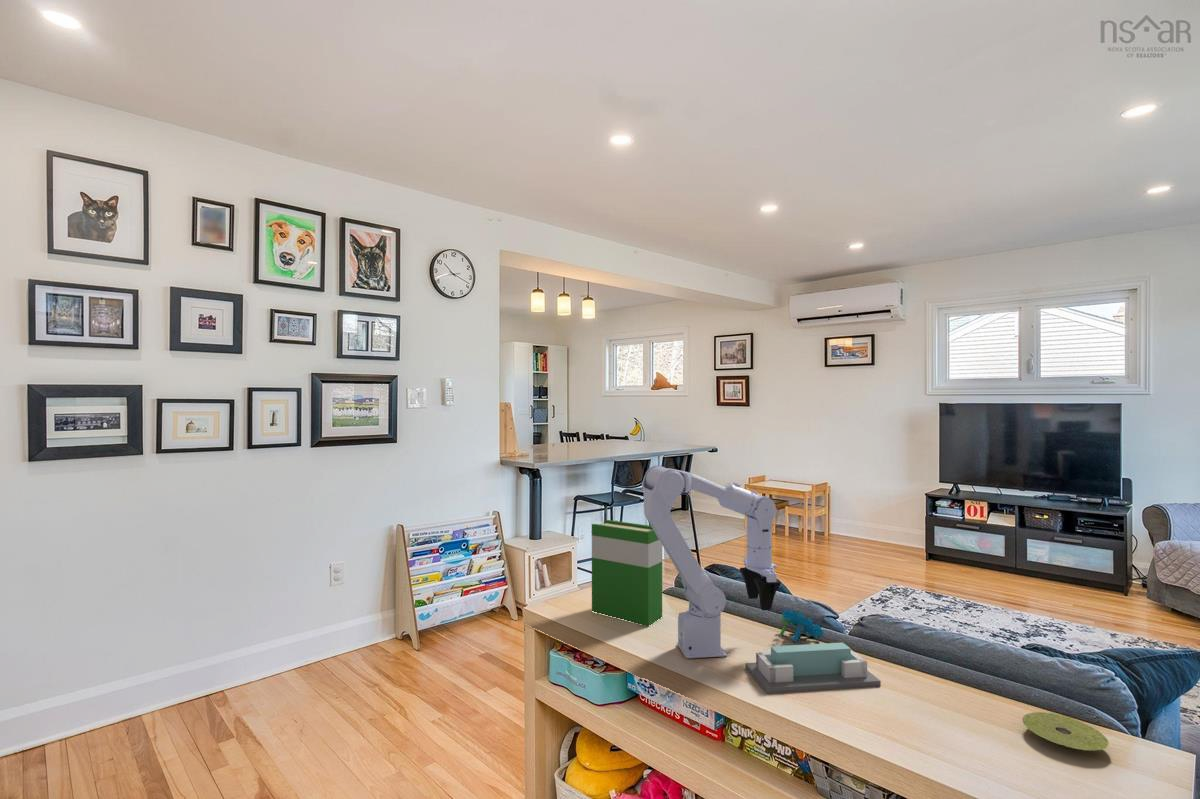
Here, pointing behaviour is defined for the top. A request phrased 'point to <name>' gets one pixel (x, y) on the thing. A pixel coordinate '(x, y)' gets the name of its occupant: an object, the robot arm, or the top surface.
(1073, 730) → the mat
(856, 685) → the cradle
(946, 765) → the top surface
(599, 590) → the hardback book
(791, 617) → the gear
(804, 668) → the teal rectangular block
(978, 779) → the top surface
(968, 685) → the top surface
